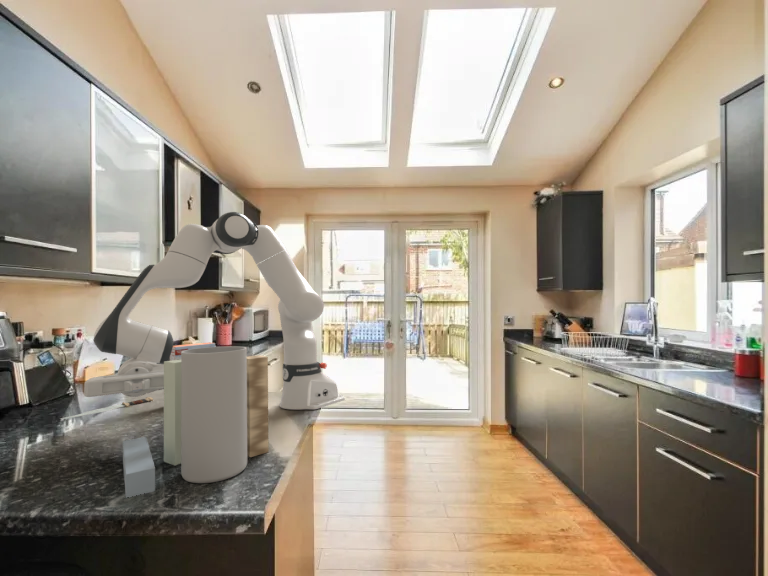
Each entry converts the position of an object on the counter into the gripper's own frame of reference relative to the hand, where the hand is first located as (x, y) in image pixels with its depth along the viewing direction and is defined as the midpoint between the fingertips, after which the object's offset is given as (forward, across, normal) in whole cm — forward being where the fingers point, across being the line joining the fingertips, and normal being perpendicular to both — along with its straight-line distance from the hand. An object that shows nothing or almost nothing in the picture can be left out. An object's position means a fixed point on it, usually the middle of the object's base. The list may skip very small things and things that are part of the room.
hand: (137, 387), depth 88 cm
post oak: (+12, +23, +16) cm, 31 cm away
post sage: (+6, +8, +16) cm, 19 cm away
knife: (-58, -7, +17) cm, 60 cm away
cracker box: (-50, +17, +16) cm, 55 cm away
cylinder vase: (+18, +14, +16) cm, 28 cm away
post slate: (-2, 0, +14) cm, 14 cm away
